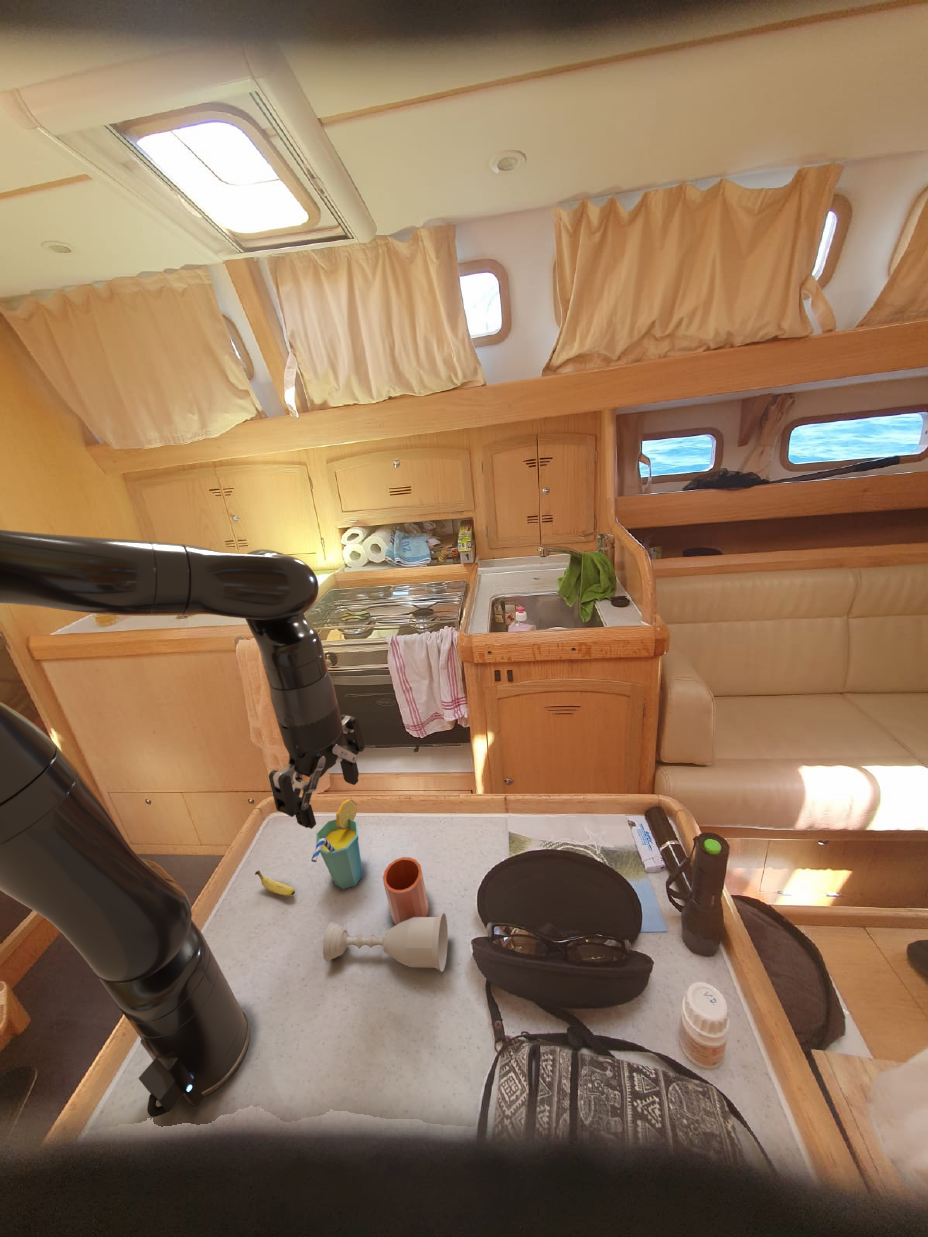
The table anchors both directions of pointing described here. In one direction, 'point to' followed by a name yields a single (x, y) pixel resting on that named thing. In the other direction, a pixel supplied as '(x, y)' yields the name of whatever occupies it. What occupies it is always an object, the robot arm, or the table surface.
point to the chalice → (398, 942)
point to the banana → (275, 886)
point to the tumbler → (405, 889)
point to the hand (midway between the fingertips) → (331, 802)
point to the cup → (341, 846)
